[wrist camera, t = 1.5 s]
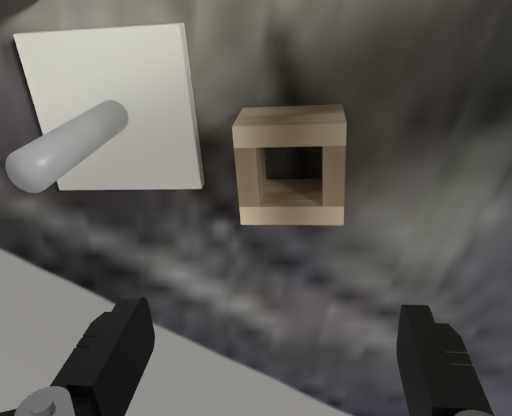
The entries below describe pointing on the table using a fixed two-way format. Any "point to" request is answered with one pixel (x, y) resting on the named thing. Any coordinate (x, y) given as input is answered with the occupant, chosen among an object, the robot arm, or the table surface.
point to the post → (109, 110)
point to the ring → (290, 190)
